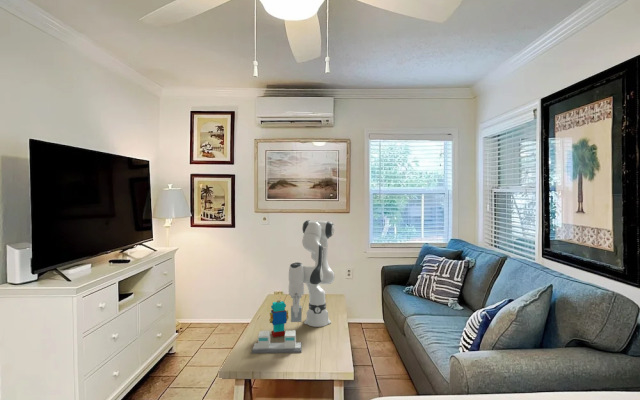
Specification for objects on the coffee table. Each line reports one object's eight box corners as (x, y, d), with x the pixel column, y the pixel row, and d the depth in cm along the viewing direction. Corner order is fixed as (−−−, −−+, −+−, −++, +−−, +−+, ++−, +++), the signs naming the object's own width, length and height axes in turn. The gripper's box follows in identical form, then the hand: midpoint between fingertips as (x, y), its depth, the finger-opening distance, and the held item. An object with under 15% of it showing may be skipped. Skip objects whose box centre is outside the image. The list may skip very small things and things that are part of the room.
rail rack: (254, 345, 213) (254, 330, 213) (301, 344, 214) (301, 329, 213) (251, 353, 202) (251, 337, 202) (301, 352, 203) (301, 336, 202)
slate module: (291, 319, 209) (291, 305, 209) (301, 319, 210) (301, 305, 210) (290, 322, 205) (290, 308, 205) (301, 321, 205) (301, 308, 205)
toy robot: (286, 332, 233) (286, 293, 232) (288, 335, 227) (288, 296, 226) (268, 334, 228) (268, 295, 228) (270, 338, 223) (270, 298, 222)
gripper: (301, 296, 197) (301, 321, 197) (301, 287, 217) (301, 309, 218) (290, 296, 197) (290, 321, 197) (291, 287, 217) (291, 309, 217)
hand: (296, 315), depth 207 cm, fingers closed on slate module, 4 cm apart
